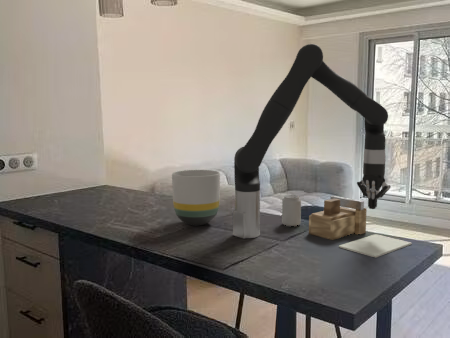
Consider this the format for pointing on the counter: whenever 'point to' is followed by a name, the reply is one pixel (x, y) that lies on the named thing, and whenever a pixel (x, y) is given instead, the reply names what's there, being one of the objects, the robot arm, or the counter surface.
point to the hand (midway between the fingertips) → (372, 208)
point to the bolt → (350, 202)
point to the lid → (333, 210)
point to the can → (291, 210)
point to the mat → (375, 245)
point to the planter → (196, 195)
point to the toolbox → (338, 226)
